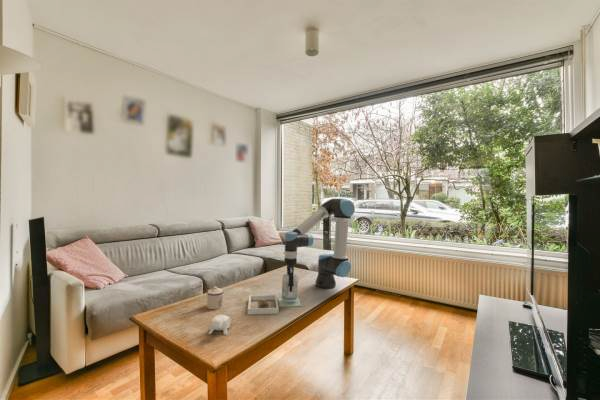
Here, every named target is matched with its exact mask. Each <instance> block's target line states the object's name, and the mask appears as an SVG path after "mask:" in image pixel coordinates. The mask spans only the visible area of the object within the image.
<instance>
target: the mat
mask: <svg viewBox="0 0 600 400" xmlns="http://www.w3.org/2000/svg"><path fill="white" fill-rule="evenodd" d="M277 300H278V307H279V308H289V307H291V308H292V307H295V308H297V307H302V303H301V301H300V298H299V297H298V296H297V300H296V301H293V302H286V301H284V300H282V297H277Z"/></svg>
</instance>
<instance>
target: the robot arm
mask: <svg viewBox="0 0 600 400" xmlns="http://www.w3.org/2000/svg"><path fill="white" fill-rule="evenodd" d="M355 211H356V209H355V204H354V202H353V201H352V200H351V199H349V198H331V199H329V200H327V201H325V202H323V203H322V204H321V205H320V206H319V207H318V209H316V211H314V213H312V214H311V215H309V217H308V218H306V219H305V220H304V221H303V222H302V223H300V224H299V225H298V226H296V228H294V229H293V230H289V231H287V232H285V234H284V252H283V254H284V264H285V265H286V274H288V275H289V285H288V297H293V286H294V285H293V274H295V273H294V270H295V269H294V268H295V267H294V266H295V265H297V262H298V260H297V256H298V248H302V247H303V248H304V247H310V246H312V245H313V244H314V237H313V235H312V234H308V233H309V232H310V231H312V229H314V228H315V227H316V226H317V225H318V224H320V223H321V222H322V221H323V220H324V219H327V218H329V217H330V216H333V218H334V219H335V227H334V228H335V231H334V244H333V245H334V247H333V253H322V254H319V255H318V260H317V263H318V264H317V276H316V279H315V281H314V282H315V287H317V288H321V289H332V288H333V287H334V288H335V287H336V285H337V282H336V279H335V276H337V277H340V278H345V277H347V276H348V275H349V274H350V272H351V269H352V263H351V262H350V261H349V257H348V256H347V245H348V232H349V231H348V229H349V221H350V220H351V217H352V216H353V215H354V214H355Z"/></svg>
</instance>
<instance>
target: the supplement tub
mask: <svg viewBox="0 0 600 400" xmlns="http://www.w3.org/2000/svg"><path fill="white" fill-rule="evenodd" d="M281 281H282V282H281V284H282V285H281V298H282V300H284V301H286V302H293V301H296V300H297V297H298V287H299V285H298V283H299V276H298V275H297V274H295V273H294V274H293V285H294V286H293V297H288V285H289V275H288V274H287V273H285V274H283V275H282V280H281Z"/></svg>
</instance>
